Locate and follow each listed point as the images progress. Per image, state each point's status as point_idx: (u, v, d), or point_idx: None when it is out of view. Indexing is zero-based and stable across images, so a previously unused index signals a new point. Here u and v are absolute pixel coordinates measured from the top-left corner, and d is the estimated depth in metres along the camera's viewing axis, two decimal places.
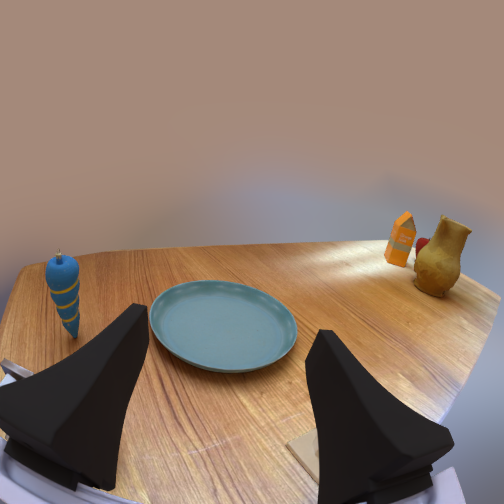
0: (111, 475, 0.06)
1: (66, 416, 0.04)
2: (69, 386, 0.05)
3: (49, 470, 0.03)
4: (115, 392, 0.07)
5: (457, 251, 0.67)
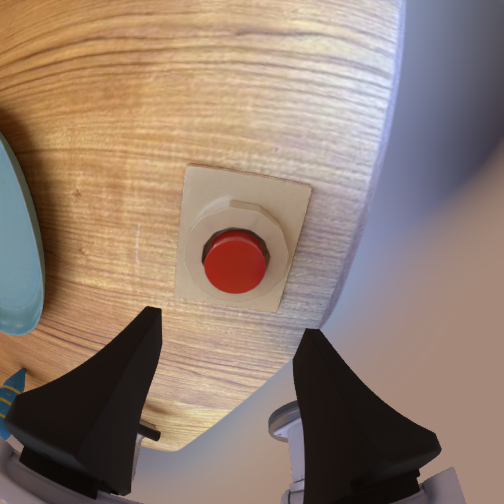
0: (127, 480, 0.06)
1: (89, 425, 0.04)
2: (88, 393, 0.05)
3: (68, 479, 0.03)
4: (132, 396, 0.07)
5: None
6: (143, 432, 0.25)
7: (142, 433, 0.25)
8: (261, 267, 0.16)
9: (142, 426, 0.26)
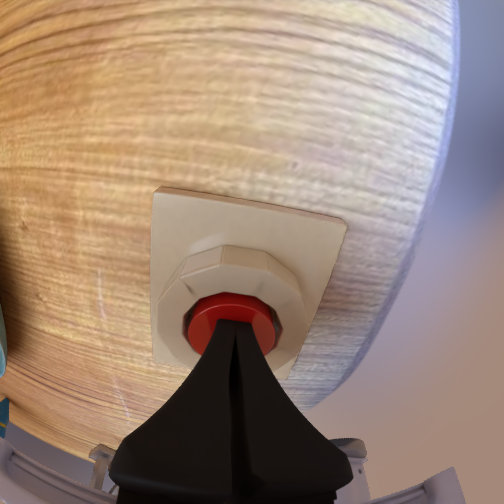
0: None
1: (225, 454, 0.04)
2: (205, 420, 0.05)
3: None
4: None
5: None
6: None
7: None
8: (269, 337, 0.11)
9: None
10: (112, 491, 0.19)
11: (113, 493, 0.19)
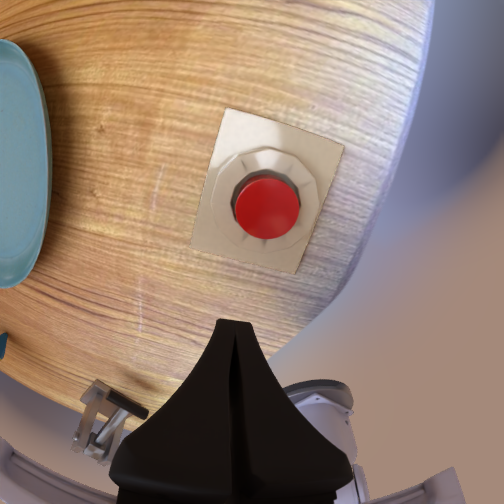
0: None
1: (225, 454, 0.04)
2: (205, 420, 0.05)
3: None
4: None
5: None
6: (130, 408, 0.24)
7: (129, 409, 0.24)
8: (294, 211, 0.15)
9: (129, 401, 0.24)
10: (104, 428, 0.23)
11: (104, 430, 0.23)
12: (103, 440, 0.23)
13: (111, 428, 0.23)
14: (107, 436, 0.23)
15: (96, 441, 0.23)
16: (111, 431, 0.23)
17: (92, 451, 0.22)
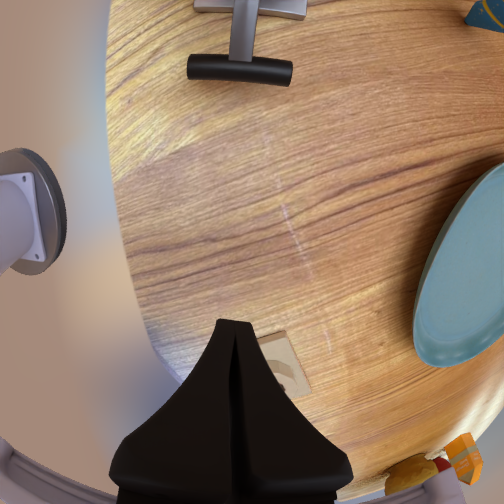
0: None
1: (225, 454, 0.04)
2: (205, 420, 0.05)
3: None
4: None
5: None
6: (230, 74, 0.11)
7: (232, 70, 0.11)
8: None
9: (238, 81, 0.12)
10: None
11: None
12: None
13: None
14: None
15: None
16: None
17: None
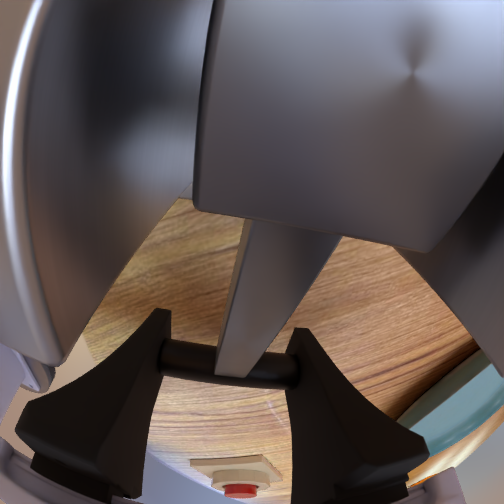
0: (139, 483, 0.06)
1: (106, 431, 0.04)
2: (103, 398, 0.05)
3: (82, 485, 0.04)
4: (144, 399, 0.07)
5: None
6: None
7: (218, 382, 0.09)
8: None
9: None
10: (281, 327, 0.05)
11: (275, 323, 0.05)
12: (266, 261, 0.04)
13: (243, 337, 0.06)
14: (244, 300, 0.04)
15: None
16: (235, 328, 0.05)
17: (433, 98, 0.01)
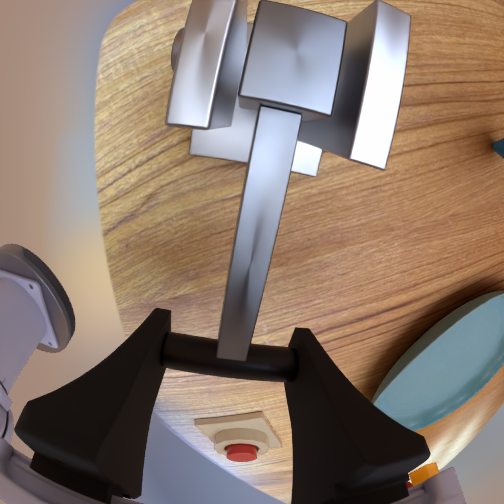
0: (139, 483, 0.06)
1: (105, 430, 0.04)
2: (102, 398, 0.05)
3: (82, 485, 0.04)
4: (144, 399, 0.07)
5: None
6: (218, 373, 0.09)
7: (220, 370, 0.09)
8: (230, 459, 0.26)
9: None
10: (275, 240, 0.08)
11: (271, 230, 0.07)
12: (262, 157, 0.07)
13: (247, 257, 0.08)
14: (250, 197, 0.07)
15: (292, 125, 0.06)
16: (241, 242, 0.07)
17: (304, 57, 0.05)
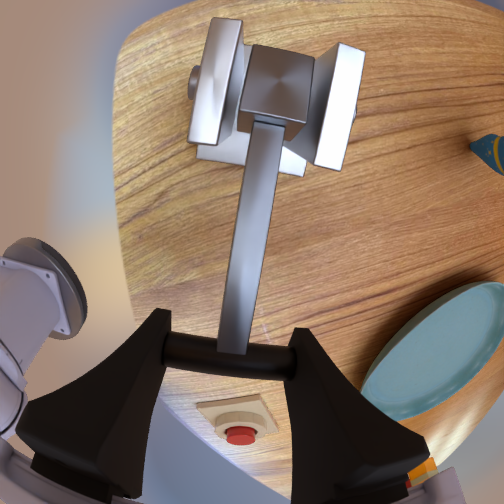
0: (139, 483, 0.06)
1: (106, 431, 0.04)
2: (103, 398, 0.05)
3: (82, 485, 0.04)
4: (144, 399, 0.07)
5: None
6: (219, 370, 0.09)
7: (220, 366, 0.09)
8: (230, 442, 0.28)
9: None
10: (268, 228, 0.09)
11: (265, 218, 0.09)
12: (256, 159, 0.09)
13: (245, 242, 0.09)
14: (247, 190, 0.09)
15: (278, 135, 0.08)
16: (240, 229, 0.09)
17: (284, 83, 0.08)
